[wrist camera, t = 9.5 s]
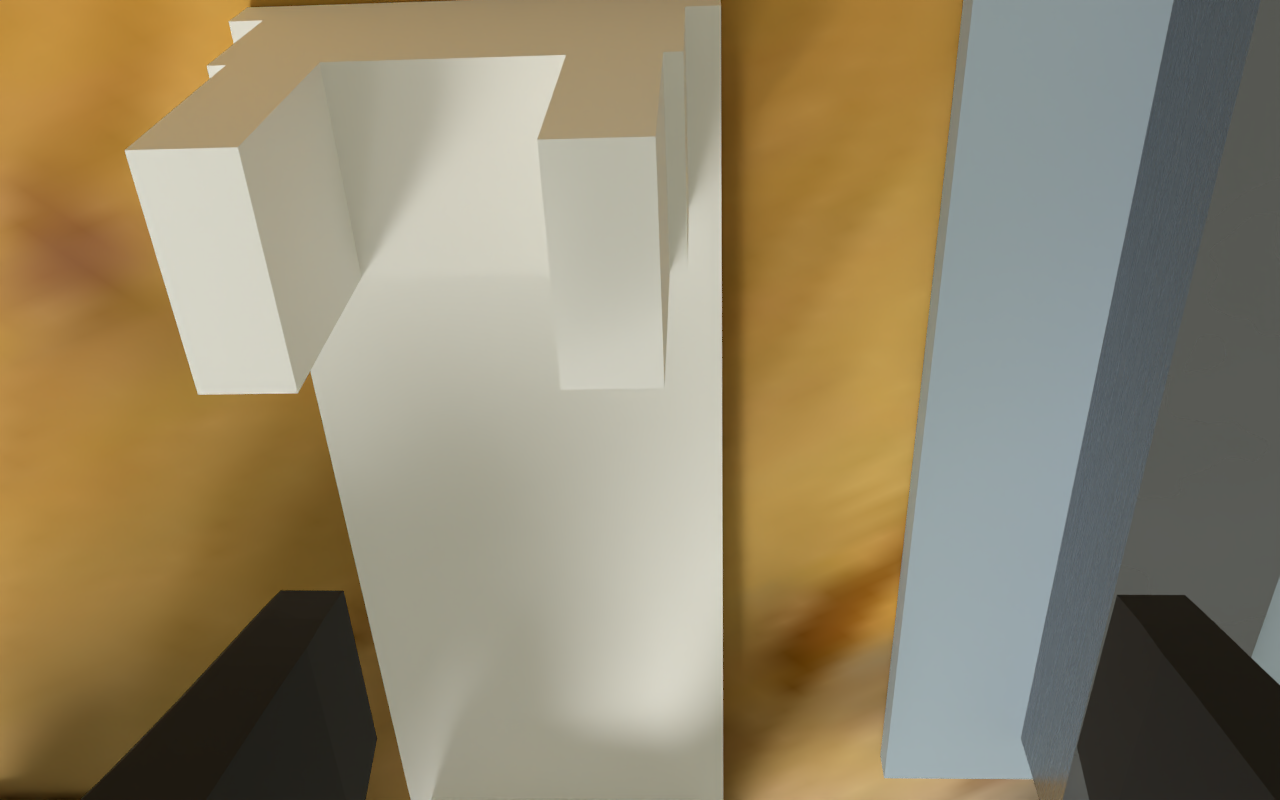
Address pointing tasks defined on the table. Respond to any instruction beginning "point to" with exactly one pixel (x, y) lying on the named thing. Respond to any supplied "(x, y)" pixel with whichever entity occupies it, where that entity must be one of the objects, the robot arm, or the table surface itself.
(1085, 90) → the mat
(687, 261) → the hook stands
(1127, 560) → the rail
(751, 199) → the table surface
